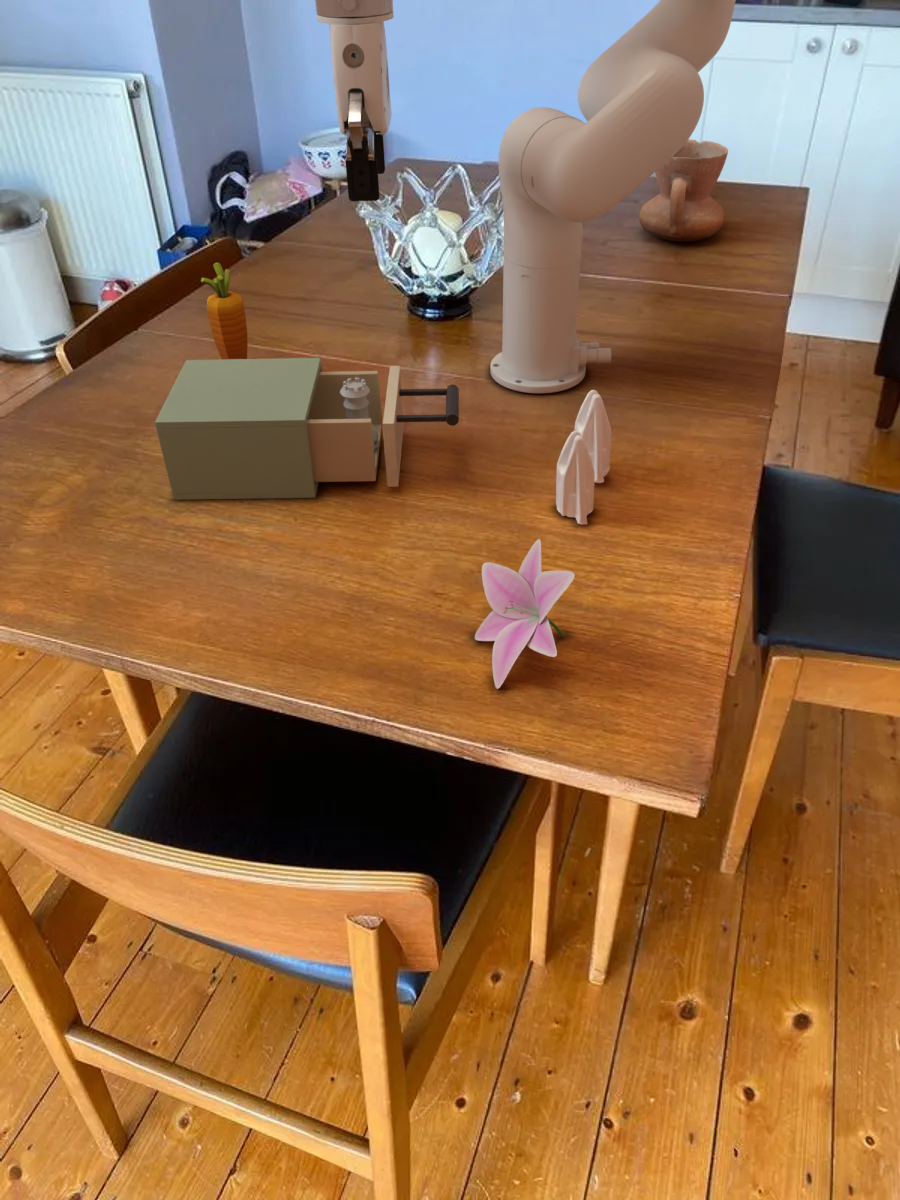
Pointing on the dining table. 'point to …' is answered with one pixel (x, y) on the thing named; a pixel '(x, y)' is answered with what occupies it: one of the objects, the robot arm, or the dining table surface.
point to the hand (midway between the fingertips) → (367, 186)
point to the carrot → (227, 317)
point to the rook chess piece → (357, 403)
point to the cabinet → (240, 429)
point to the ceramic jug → (686, 194)
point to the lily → (520, 610)
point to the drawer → (364, 426)
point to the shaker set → (583, 460)
